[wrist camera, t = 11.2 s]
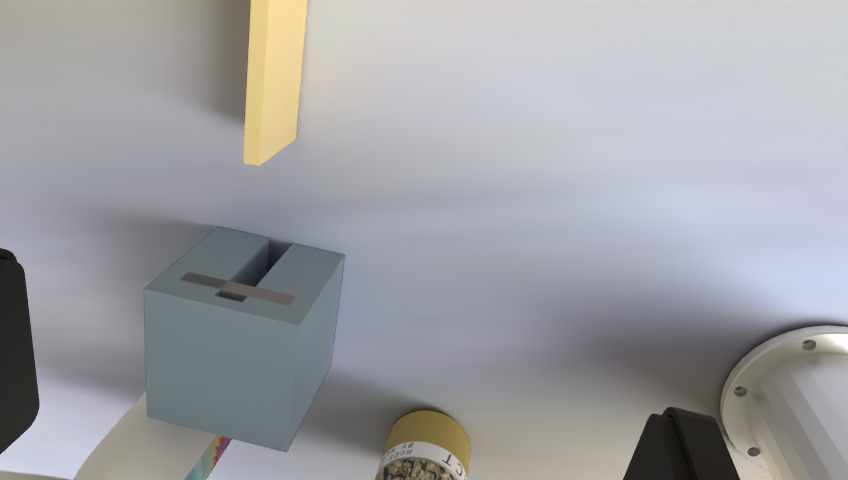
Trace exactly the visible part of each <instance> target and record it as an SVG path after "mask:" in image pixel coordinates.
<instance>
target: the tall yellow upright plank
mask: <svg viewBox="0 0 848 480" xmlns="http://www.w3.org/2000/svg"><path fill="white" fill-rule="evenodd" d="M307 3H308V0H251V12H250V32H249V52H248V72H247V92H246V112H245V132H244V152H243V163H246V164H250V165H255V166H260V165H262V164H263V163H264V162H266V161H267V160H268V159H270V158H271V157H272V156H274V155H275V154H277V153H278V152H279V151H281V150H282V149H283V148H285V147H286V146H287V145H289V144H290V143H292V142H293V141H294V140H296V131H297V120H298V108H299V96H300V85H301V73H302V61H303V50H304V38H305V27H306V15H307Z"/></svg>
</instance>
